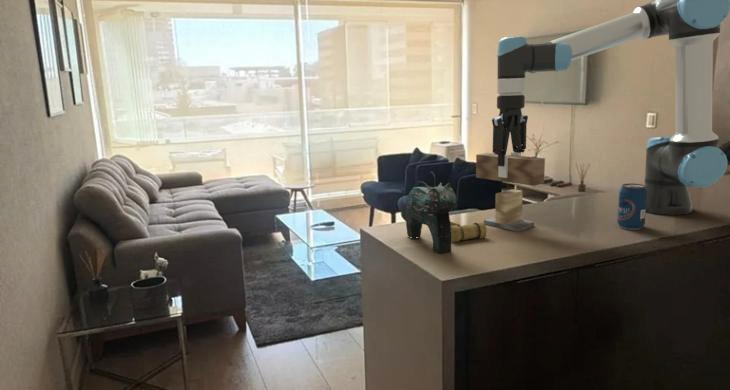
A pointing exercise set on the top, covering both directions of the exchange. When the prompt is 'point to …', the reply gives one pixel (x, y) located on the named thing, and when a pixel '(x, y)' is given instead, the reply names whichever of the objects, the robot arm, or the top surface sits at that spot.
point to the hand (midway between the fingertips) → (509, 175)
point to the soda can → (632, 206)
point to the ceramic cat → (431, 213)
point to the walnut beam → (512, 169)
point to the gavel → (467, 231)
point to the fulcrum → (509, 212)
